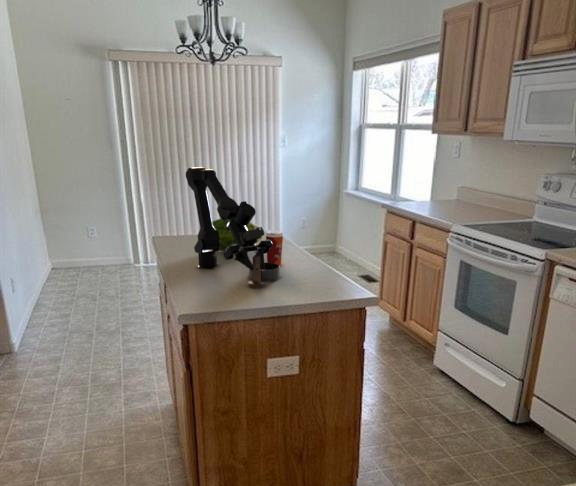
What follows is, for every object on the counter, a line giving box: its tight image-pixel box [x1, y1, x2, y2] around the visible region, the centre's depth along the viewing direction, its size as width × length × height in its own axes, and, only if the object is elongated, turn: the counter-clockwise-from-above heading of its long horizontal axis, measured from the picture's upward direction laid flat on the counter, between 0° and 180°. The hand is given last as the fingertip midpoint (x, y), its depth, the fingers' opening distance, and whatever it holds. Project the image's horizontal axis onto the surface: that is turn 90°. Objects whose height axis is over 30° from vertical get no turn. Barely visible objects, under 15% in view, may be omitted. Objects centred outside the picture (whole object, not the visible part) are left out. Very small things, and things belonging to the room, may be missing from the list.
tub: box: [248, 261, 281, 283], centre depth 205 cm, size 12×12×4 cm
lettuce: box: [212, 218, 264, 252], centre depth 244 cm, size 15×27×16 cm, turn 112°
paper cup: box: [264, 230, 285, 267], centre depth 221 cm, size 8×8×14 cm
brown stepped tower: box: [248, 255, 265, 289], centre depth 193 cm, size 6×6×11 cm
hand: (258, 268), depth 191 cm, fingers open, 5 cm apart
